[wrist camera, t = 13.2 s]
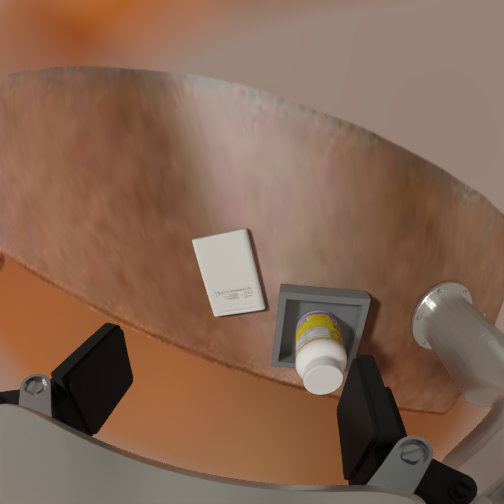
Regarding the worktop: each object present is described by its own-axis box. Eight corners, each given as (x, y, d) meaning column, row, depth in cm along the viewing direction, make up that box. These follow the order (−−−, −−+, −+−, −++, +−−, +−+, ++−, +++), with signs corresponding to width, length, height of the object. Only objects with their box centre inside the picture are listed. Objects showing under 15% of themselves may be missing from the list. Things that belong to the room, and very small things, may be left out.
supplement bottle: (339, 342, 42) (350, 396, 30) (298, 347, 43) (297, 403, 31) (337, 305, 41) (351, 355, 28) (293, 311, 42) (291, 362, 29)
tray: (366, 291, 40) (370, 299, 37) (348, 360, 43) (351, 371, 41) (280, 283, 41) (279, 291, 39) (272, 355, 45) (271, 365, 42)
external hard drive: (247, 226, 41) (266, 305, 43) (194, 238, 42) (216, 312, 45) (245, 228, 39) (265, 310, 42) (191, 240, 41) (213, 317, 43)
